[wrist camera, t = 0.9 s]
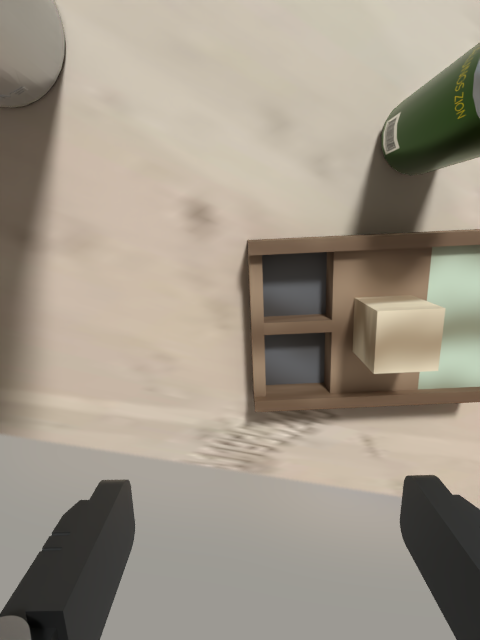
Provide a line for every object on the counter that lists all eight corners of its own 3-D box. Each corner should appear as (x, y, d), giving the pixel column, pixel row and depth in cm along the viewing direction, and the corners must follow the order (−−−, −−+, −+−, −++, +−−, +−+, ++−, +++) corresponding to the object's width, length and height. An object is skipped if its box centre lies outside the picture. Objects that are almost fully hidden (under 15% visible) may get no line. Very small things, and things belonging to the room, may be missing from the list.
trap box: (247, 240, 28) (248, 241, 25) (489, 228, 28) (522, 228, 25) (253, 393, 32) (255, 412, 28) (467, 383, 32) (493, 401, 28)
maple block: (354, 297, 27) (377, 311, 22) (411, 295, 27) (445, 308, 22) (352, 351, 28) (373, 373, 24) (407, 348, 28) (438, 370, 24)
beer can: (382, 184, 27) (492, 151, 15) (372, 111, 26) (483, 14, 14) (450, 166, 27) (614, 118, 15) (443, 90, 25) (617, -27, 14)
